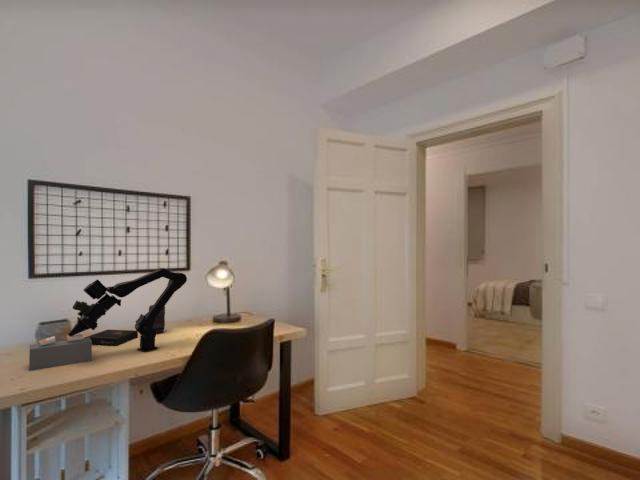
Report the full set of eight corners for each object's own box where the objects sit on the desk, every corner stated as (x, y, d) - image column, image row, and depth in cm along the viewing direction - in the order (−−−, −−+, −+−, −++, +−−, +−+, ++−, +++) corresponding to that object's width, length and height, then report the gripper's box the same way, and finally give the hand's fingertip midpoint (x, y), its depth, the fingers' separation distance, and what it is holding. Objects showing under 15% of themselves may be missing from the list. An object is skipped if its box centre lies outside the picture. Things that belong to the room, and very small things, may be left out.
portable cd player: (138, 338, 187) (138, 330, 187) (116, 347, 170) (116, 338, 170) (108, 336, 189) (108, 329, 189) (83, 345, 172) (84, 337, 172)
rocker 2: (81, 337, 151) (81, 333, 151) (82, 339, 148) (82, 335, 148) (67, 338, 148) (67, 335, 148) (67, 340, 145) (68, 337, 145)
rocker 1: (55, 338, 146) (54, 335, 146) (55, 340, 143) (55, 337, 142) (40, 343, 143) (39, 340, 143) (40, 345, 140) (39, 342, 139)
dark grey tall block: (146, 332, 196) (146, 305, 197) (161, 330, 202) (161, 303, 202) (151, 335, 191) (152, 307, 191) (167, 333, 196) (167, 305, 197)
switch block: (89, 356, 155) (89, 337, 155) (91, 360, 148) (91, 341, 148) (29, 365, 142) (29, 344, 142) (29, 370, 136) (29, 349, 136)
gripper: (84, 291, 158) (51, 318, 151) (89, 296, 144) (53, 327, 136) (104, 308, 163) (73, 335, 156) (110, 314, 148) (77, 345, 141)
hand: (69, 335), depth 147 cm, fingers closed, pressing on rocker 2
